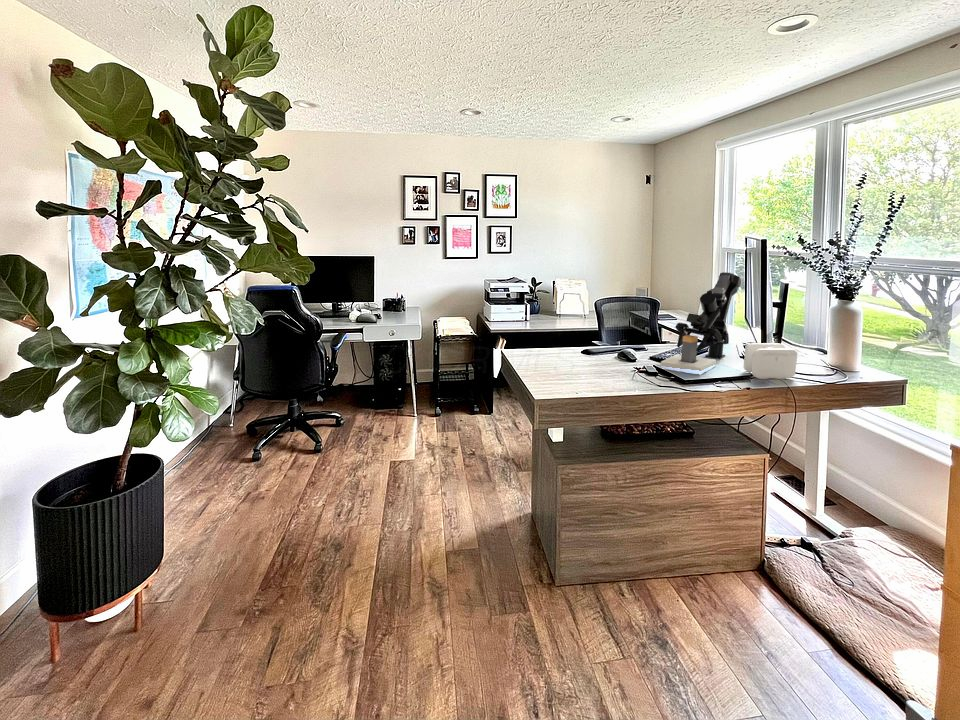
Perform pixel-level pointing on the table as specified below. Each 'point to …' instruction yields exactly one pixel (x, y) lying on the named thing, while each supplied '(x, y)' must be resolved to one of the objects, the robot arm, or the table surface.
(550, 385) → the table surface
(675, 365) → the socket block
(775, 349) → the cable organizer
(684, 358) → the plug
